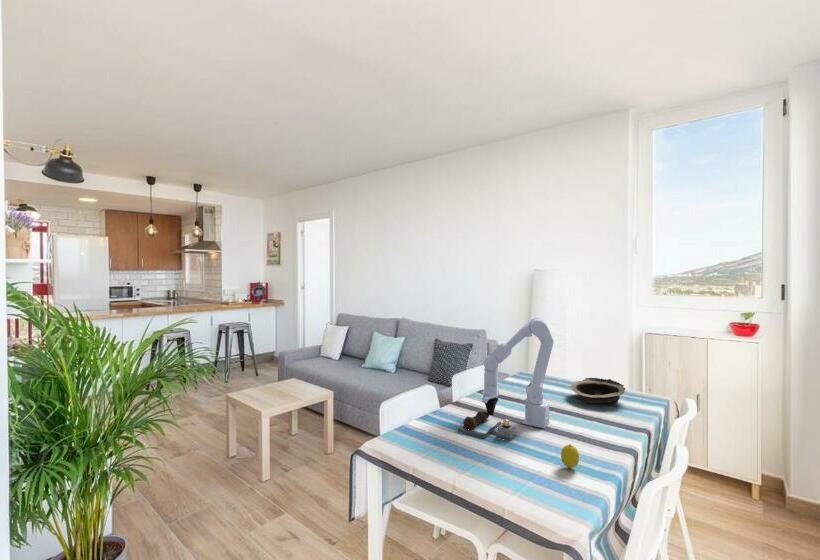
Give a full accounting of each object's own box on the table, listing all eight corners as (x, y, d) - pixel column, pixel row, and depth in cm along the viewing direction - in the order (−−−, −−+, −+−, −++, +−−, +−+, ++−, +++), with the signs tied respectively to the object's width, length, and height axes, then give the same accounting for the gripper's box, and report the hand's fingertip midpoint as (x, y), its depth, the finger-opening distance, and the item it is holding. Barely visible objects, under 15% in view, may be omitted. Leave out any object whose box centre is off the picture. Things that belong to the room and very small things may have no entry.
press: (522, 429, 164) (522, 418, 164) (508, 444, 150) (508, 433, 149) (474, 418, 175) (475, 408, 175) (457, 431, 161) (457, 421, 161)
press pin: (510, 426, 156) (510, 419, 156) (508, 428, 154) (508, 421, 154) (504, 425, 158) (504, 418, 158) (502, 427, 156) (502, 420, 156)
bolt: (487, 423, 174) (470, 434, 163) (478, 415, 177) (461, 425, 165) (493, 413, 173) (476, 423, 161) (484, 405, 175) (467, 414, 163)
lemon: (557, 464, 135) (558, 441, 134) (573, 463, 135) (574, 440, 135) (565, 473, 129) (566, 448, 129) (582, 472, 130) (582, 448, 129)
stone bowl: (627, 397, 202) (627, 380, 201) (622, 417, 181) (623, 397, 180) (574, 389, 215) (575, 372, 214) (564, 406, 194) (565, 387, 193)
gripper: (488, 378, 182) (488, 407, 183) (475, 386, 170) (475, 418, 171) (503, 380, 178) (503, 410, 179) (491, 389, 166) (490, 421, 167)
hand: (490, 414), depth 175 cm, fingers closed
